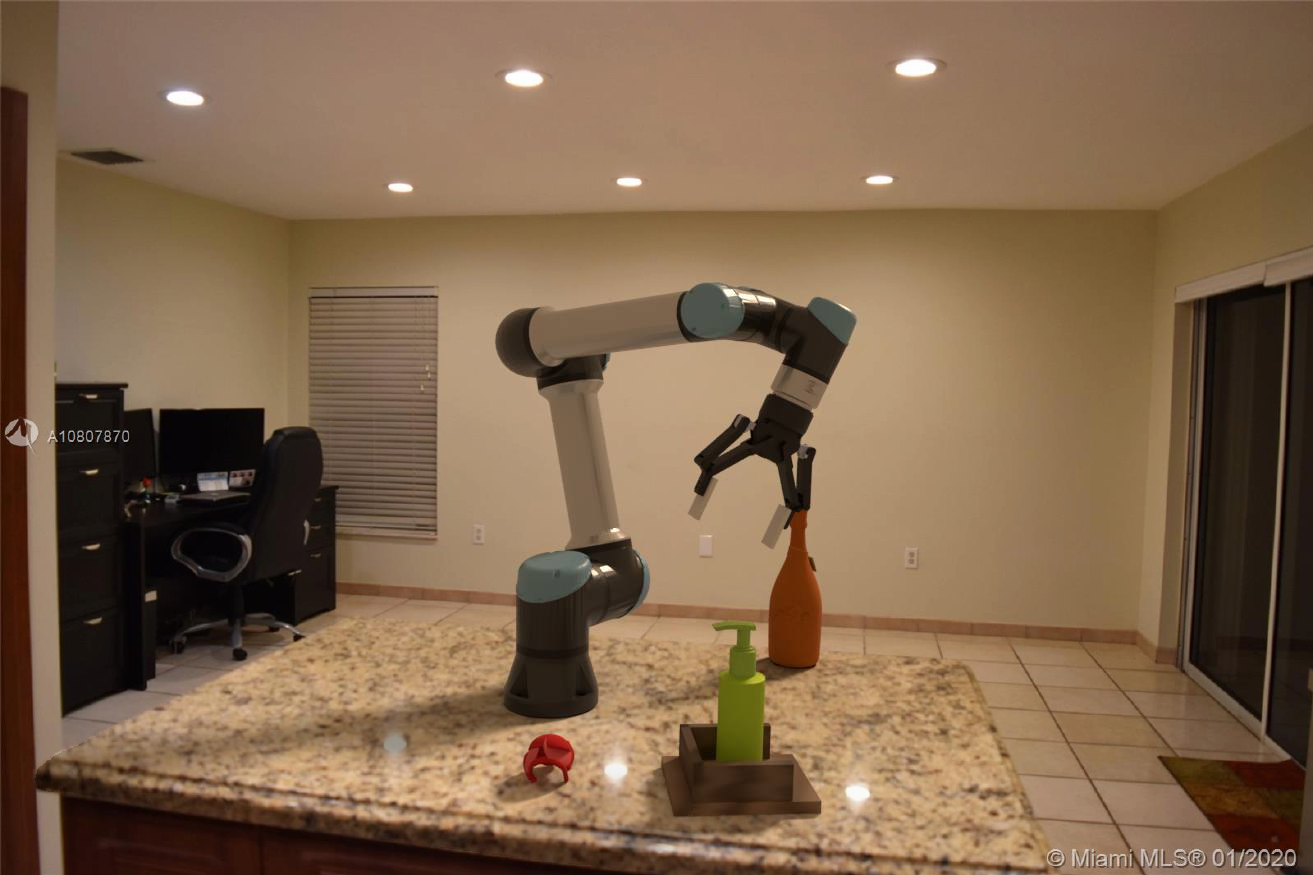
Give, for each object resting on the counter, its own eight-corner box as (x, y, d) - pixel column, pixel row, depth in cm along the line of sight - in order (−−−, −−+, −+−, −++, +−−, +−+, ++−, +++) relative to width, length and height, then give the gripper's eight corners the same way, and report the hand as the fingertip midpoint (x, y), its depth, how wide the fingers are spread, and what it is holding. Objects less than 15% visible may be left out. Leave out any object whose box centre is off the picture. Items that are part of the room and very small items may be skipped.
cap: (580, 766, 114) (584, 727, 119) (535, 754, 112) (541, 714, 117) (557, 801, 118) (562, 761, 123) (514, 789, 117) (520, 749, 122)
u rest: (673, 816, 108) (675, 767, 108) (661, 766, 122) (662, 723, 122) (821, 813, 110) (822, 765, 110) (791, 764, 124) (793, 721, 123)
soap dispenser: (704, 766, 119) (709, 616, 117) (756, 766, 119) (762, 616, 118) (711, 786, 113) (716, 628, 112) (765, 786, 113) (771, 629, 112)
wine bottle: (819, 672, 164) (825, 508, 163) (765, 667, 166) (770, 505, 165) (820, 656, 174) (826, 501, 172) (769, 651, 176) (774, 498, 174)
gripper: (735, 372, 124) (670, 512, 126) (869, 437, 135) (808, 565, 136) (712, 364, 131) (651, 496, 132) (841, 426, 142) (784, 548, 143)
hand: (730, 532), depth 134 cm, fingers open, 13 cm apart
